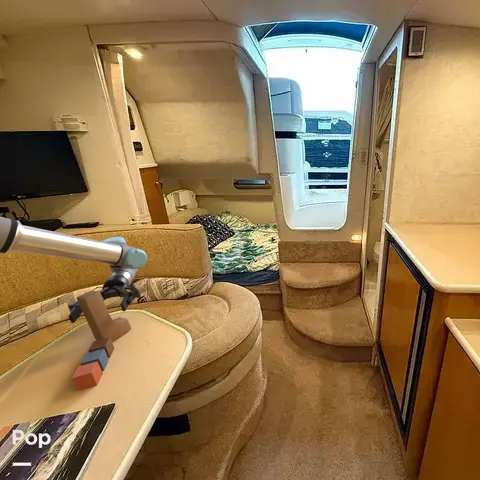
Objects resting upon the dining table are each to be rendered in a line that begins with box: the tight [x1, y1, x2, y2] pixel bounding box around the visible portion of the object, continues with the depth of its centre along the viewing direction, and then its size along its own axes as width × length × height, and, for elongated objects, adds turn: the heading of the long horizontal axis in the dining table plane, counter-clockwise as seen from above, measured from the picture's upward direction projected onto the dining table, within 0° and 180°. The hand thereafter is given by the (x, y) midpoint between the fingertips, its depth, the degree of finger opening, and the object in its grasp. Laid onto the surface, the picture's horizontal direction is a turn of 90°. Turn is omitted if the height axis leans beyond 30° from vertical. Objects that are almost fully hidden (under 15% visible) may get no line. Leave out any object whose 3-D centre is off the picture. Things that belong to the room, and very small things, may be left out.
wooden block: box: [76, 290, 132, 343], centre depth 89 cm, size 9×4×18 cm, turn 161°
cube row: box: [70, 337, 115, 392], centre depth 78 cm, size 15×4×4 cm, turn 22°
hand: (97, 313), depth 85 cm, fingers open, 13 cm apart
